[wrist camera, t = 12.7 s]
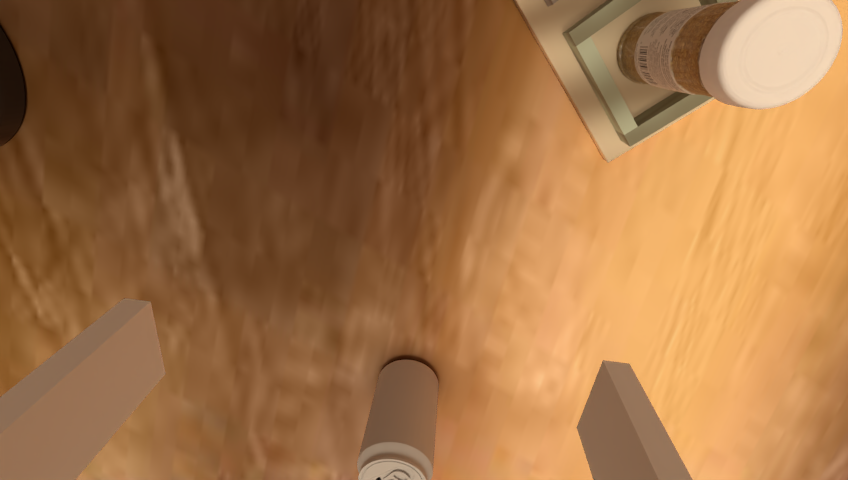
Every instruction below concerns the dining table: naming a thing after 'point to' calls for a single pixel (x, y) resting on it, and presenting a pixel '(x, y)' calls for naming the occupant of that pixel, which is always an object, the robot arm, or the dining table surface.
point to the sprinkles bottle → (735, 50)
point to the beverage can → (401, 424)
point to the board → (606, 68)
